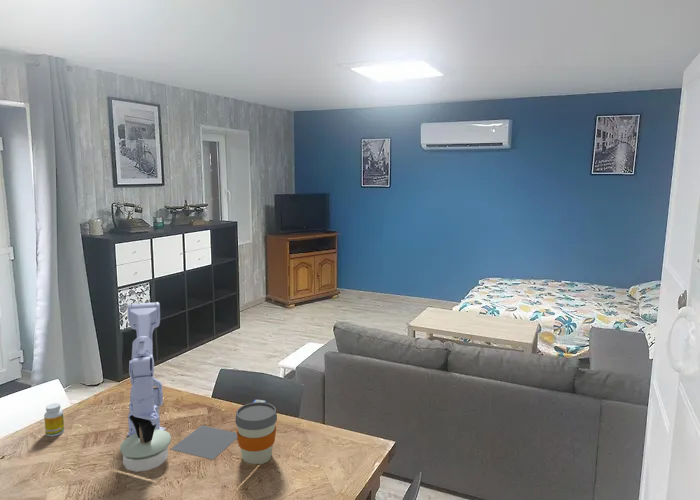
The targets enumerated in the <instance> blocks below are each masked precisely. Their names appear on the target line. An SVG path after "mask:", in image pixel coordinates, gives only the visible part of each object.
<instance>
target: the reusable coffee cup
mask: <svg viewBox="0 0 700 500" xmlns="http://www.w3.org/2000/svg"><path fill="white" fill-rule="evenodd" d="M253 402H254V401H253ZM253 402H250V403H246V404H244V405H242V406H240V407H239V408H238V409H237V410H236V413H235V419H234V420H235V421H234V422H235V425H236V427H237V428H236V432H235V433H237V442H238V443H237V444H238V446H239V448H240V454H241V459H242V460H243V461H244V462H245V463H248V464H255V465H256V464H258V465H260V466H261V465H263V464H266V463H267V462H269V461H270V460H271V459H272V454H273V448H274V447H273V445H274V444H275V441H276V440H275V439H276V432H277V425H276V422H277V421H278V414H277V408H276V407H275V405H273V404H271V403H270V402H266V403H264V402H254V403H253Z"/></svg>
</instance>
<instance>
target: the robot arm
mask: <svg viewBox="0 0 700 500" xmlns="http://www.w3.org/2000/svg"><path fill="white" fill-rule="evenodd" d="M127 320H128V325H129V326H130V329H133V330H135V331H136V338H135V339H133V341H132V344H131V345H132V347H131V348H132V349H131V360H129V366H128V367H129V368H128V374H129V378H130V384H131V387H130V395H129V399H130V400H129V404H128V410H129V412H128V415H127V418H128V419H127V420H128V421H127V422H128V433H126V436H127V437H129V436H131V435H133V434H135V433H137V436H138V438H140V434H139V426H140V428H141V430H142V434H143V440H144V442H145V443H147V442H149V441H151V440H152V438H153V433H154V429H160V430H164V431H166V427H163V426H161V423H160V422H161V420H160V407H162V405H163V404H164V401H163V400H164V394H163V393H164V392H163V390H164V389H163V383H162V381H160V380H159V379H157V378H155V377H154V375H155V360H154V355H153V353H154V351H153V349H154V347H153V346H154V345H153V343H154V342H153V333H154V330H155V329H156V328H158V327H160V324H161V304H160V302H159V301H156V302H155V301H154V302H143V303H142V302H141V303H129V304H128V305H127Z"/></svg>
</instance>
